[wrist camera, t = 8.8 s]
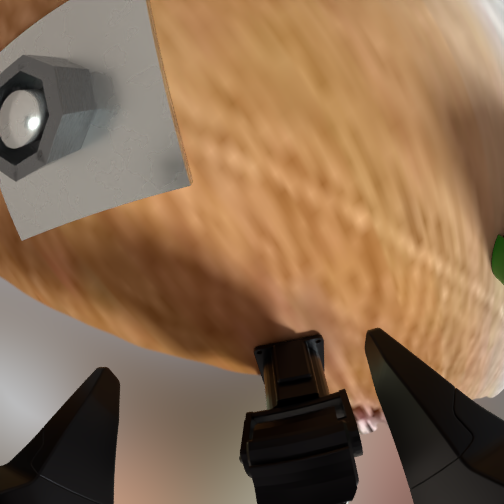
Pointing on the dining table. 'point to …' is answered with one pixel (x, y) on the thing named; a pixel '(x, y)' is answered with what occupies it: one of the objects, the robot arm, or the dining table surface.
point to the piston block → (105, 120)
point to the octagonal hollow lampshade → (59, 107)
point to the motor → (498, 259)
